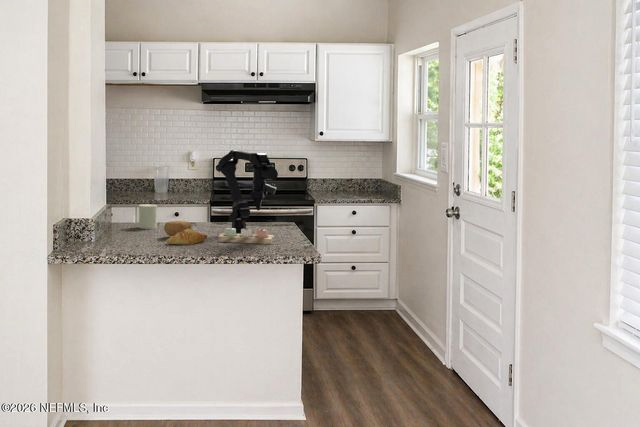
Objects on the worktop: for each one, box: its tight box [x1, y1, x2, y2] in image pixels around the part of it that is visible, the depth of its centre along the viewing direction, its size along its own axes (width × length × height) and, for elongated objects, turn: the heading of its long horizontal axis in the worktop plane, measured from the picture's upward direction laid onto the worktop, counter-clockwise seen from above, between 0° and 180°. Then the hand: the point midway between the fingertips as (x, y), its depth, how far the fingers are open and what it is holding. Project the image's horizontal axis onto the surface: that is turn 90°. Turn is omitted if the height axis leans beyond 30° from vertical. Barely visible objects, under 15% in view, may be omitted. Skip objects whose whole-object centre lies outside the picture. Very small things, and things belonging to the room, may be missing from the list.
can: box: [138, 203, 158, 230], centre depth 411 cm, size 9×9×12 cm
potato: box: [163, 220, 192, 237], centre depth 384 cm, size 10×14×8 cm
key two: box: [241, 228, 252, 237], centre depth 380 cm, size 5×5×6 cm
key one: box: [224, 227, 237, 237], centre depth 381 cm, size 5×5×6 cm
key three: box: [256, 228, 268, 238], centre depth 380 cm, size 5×5×6 cm
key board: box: [217, 232, 275, 245], centre depth 380 cm, size 25×11×2 cm, turn 87°
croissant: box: [165, 228, 208, 246], centre depth 369 cm, size 21×10×8 cm
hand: (258, 210), depth 394 cm, fingers closed
